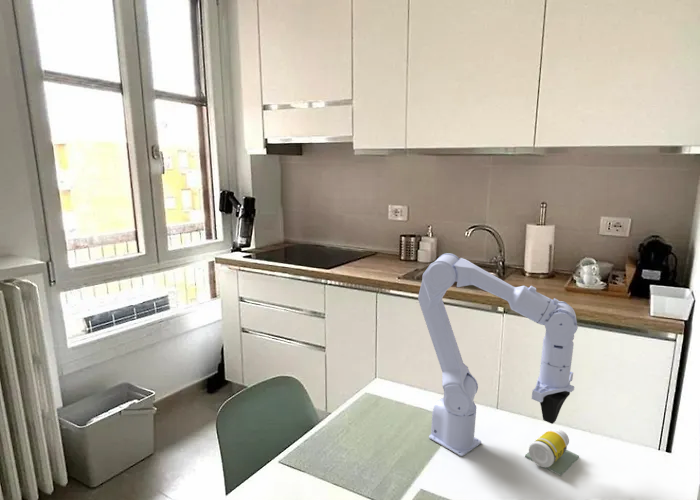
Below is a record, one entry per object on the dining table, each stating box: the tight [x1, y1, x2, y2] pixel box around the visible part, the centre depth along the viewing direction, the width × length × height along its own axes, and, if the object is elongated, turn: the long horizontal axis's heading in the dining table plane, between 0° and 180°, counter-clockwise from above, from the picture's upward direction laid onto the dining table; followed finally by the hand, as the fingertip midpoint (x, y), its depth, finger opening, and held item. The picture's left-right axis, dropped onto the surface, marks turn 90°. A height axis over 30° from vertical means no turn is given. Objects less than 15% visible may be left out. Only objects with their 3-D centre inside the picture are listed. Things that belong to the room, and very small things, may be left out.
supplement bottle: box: [528, 428, 570, 468], centre depth 102 cm, size 5×5×10 cm
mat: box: [524, 449, 580, 476], centre depth 103 cm, size 8×9×1 cm
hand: (549, 420), depth 99 cm, fingers closed
